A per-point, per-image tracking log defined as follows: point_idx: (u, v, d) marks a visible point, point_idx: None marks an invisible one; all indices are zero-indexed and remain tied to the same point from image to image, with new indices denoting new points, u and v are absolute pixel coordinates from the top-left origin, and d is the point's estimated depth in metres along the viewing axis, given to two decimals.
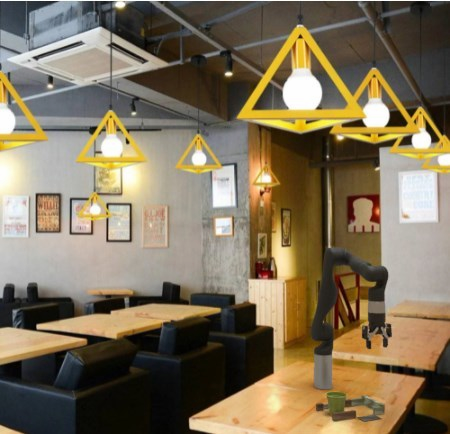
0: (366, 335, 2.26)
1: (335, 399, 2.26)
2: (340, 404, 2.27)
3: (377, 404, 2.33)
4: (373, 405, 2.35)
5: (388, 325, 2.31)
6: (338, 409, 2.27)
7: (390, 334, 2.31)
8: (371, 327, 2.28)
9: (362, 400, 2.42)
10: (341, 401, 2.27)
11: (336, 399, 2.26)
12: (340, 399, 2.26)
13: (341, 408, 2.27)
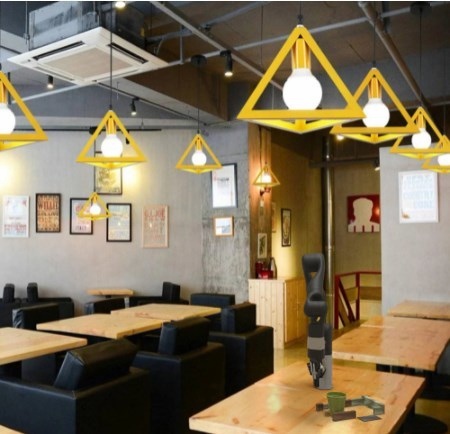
0: None
1: (335, 399, 2.26)
2: (340, 404, 2.27)
3: (377, 404, 2.33)
4: (373, 405, 2.35)
5: None
6: (338, 409, 2.27)
7: None
8: None
9: (362, 400, 2.42)
10: (341, 401, 2.27)
11: (336, 399, 2.26)
12: (340, 399, 2.26)
13: (341, 408, 2.27)
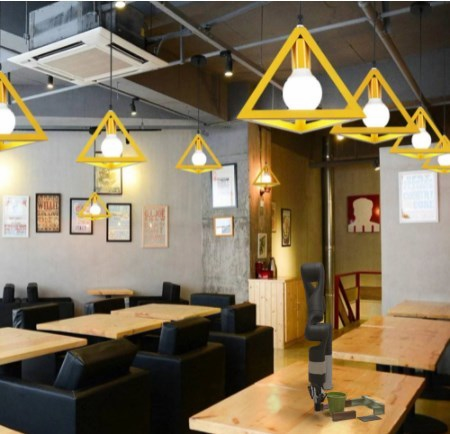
0: None
1: (335, 399, 2.26)
2: (340, 404, 2.27)
3: (377, 404, 2.33)
4: (373, 405, 2.35)
5: None
6: (338, 409, 2.27)
7: None
8: None
9: (362, 400, 2.42)
10: (341, 401, 2.27)
11: (336, 399, 2.26)
12: (340, 399, 2.26)
13: (341, 408, 2.27)
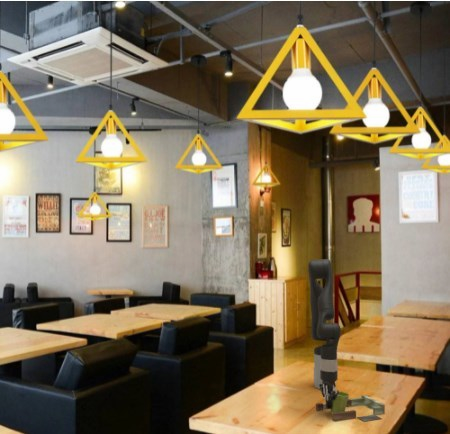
0: None
1: (338, 397, 2.27)
2: (342, 403, 2.27)
3: (377, 404, 2.33)
4: (373, 405, 2.35)
5: None
6: (340, 408, 2.27)
7: None
8: None
9: (362, 400, 2.42)
10: (343, 400, 2.27)
11: (339, 397, 2.27)
12: (343, 398, 2.27)
13: (343, 407, 2.27)
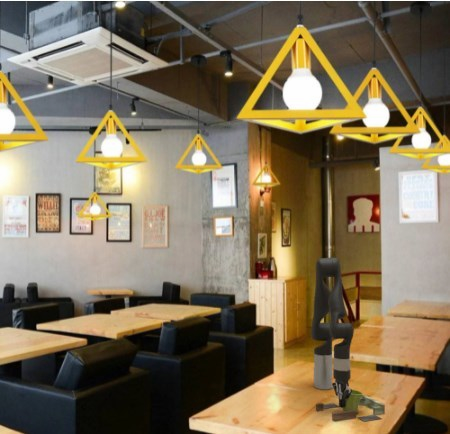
0: None
1: (351, 395, 2.29)
2: (355, 401, 2.30)
3: (377, 404, 2.33)
4: (373, 405, 2.35)
5: None
6: (353, 406, 2.29)
7: None
8: None
9: (362, 400, 2.42)
10: (356, 398, 2.29)
11: (352, 395, 2.29)
12: (356, 396, 2.29)
13: (356, 405, 2.30)
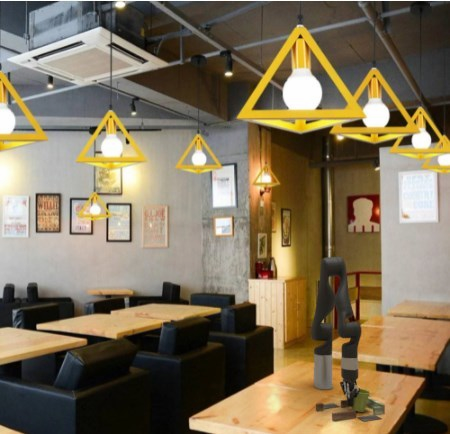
0: None
1: (359, 394, 2.31)
2: (363, 400, 2.31)
3: (377, 404, 2.33)
4: (373, 405, 2.35)
5: None
6: (360, 405, 2.31)
7: None
8: None
9: None
10: (364, 397, 2.31)
11: (360, 394, 2.30)
12: (364, 395, 2.31)
13: (363, 404, 2.31)
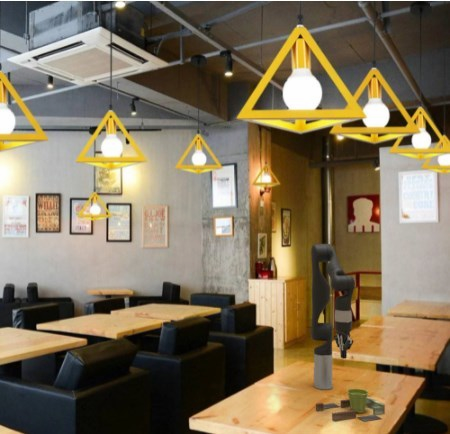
0: None
1: (357, 396, 2.30)
2: (362, 401, 2.31)
3: (377, 404, 2.33)
4: (373, 405, 2.35)
5: None
6: (360, 406, 2.31)
7: None
8: None
9: None
10: (362, 398, 2.30)
11: (358, 396, 2.30)
12: (362, 396, 2.30)
13: (363, 405, 2.31)
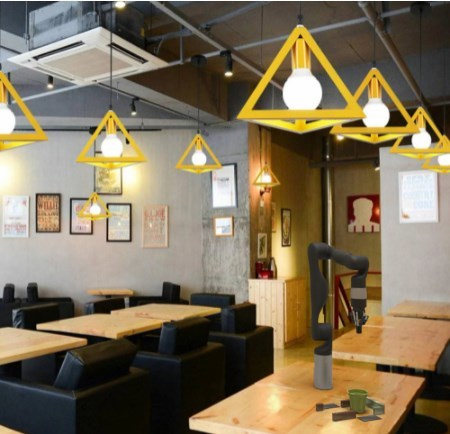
0: None
1: (357, 396, 2.30)
2: (362, 401, 2.31)
3: (377, 404, 2.33)
4: (373, 405, 2.35)
5: None
6: (360, 406, 2.31)
7: None
8: None
9: None
10: (362, 398, 2.30)
11: (358, 396, 2.30)
12: (362, 396, 2.30)
13: (363, 405, 2.31)
